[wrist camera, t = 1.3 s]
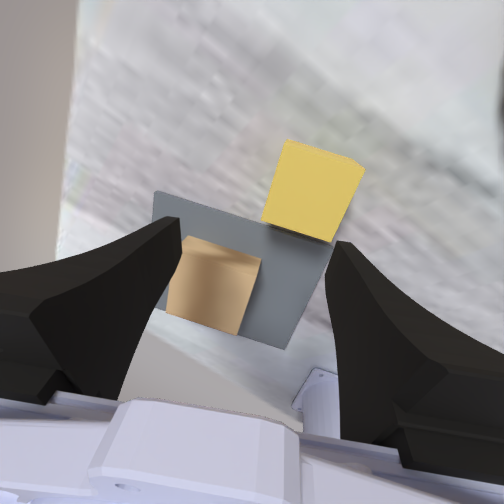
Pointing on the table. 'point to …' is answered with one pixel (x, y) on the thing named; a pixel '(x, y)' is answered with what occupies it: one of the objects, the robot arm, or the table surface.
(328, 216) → the yellow block
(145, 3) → the table surface
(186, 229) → the board
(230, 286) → the oak block
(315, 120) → the table surface
